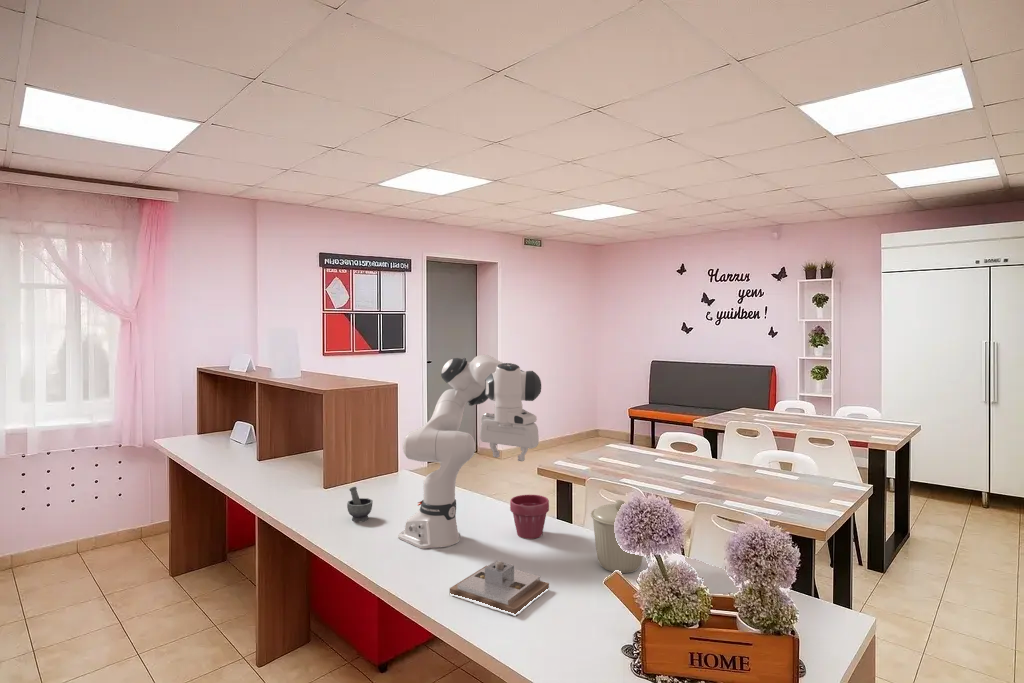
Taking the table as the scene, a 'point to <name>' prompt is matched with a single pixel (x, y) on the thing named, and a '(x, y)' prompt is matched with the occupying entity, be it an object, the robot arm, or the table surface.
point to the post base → (512, 608)
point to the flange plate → (499, 583)
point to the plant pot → (529, 515)
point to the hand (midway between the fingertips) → (508, 458)
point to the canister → (611, 541)
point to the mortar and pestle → (359, 506)
